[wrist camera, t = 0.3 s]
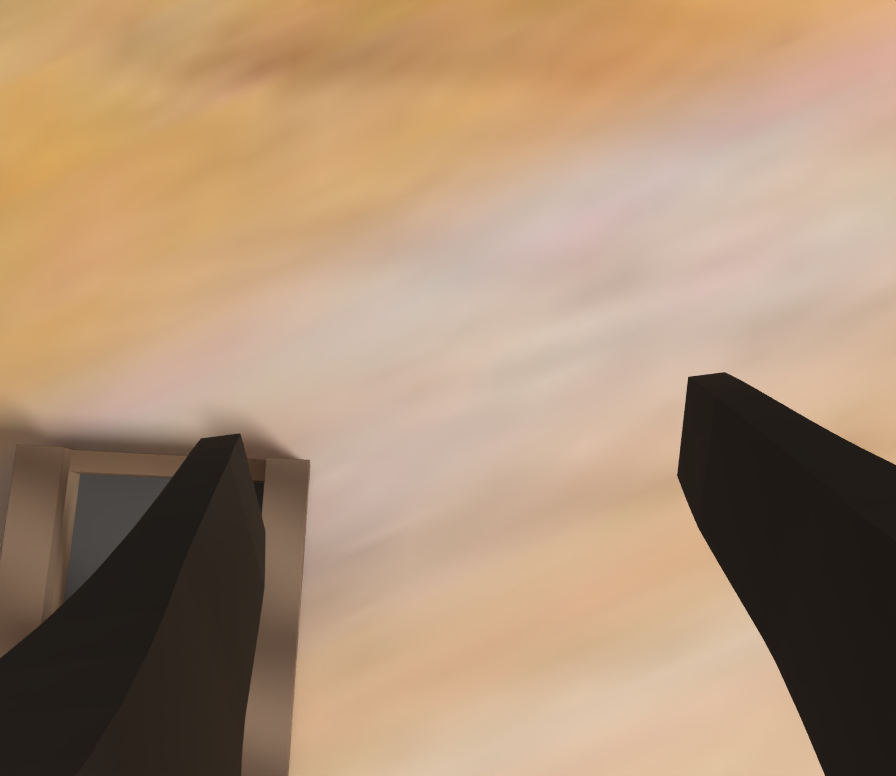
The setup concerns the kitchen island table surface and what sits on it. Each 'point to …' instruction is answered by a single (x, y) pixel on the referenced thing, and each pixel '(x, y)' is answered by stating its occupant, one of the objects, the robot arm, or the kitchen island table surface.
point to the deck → (111, 519)
